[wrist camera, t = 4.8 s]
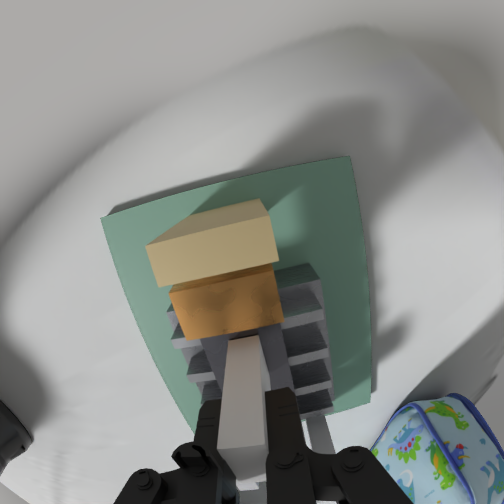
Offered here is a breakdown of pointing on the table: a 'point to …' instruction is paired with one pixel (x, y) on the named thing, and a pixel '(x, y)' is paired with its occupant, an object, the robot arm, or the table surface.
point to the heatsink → (295, 338)
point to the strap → (235, 318)
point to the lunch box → (443, 453)
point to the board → (253, 265)
